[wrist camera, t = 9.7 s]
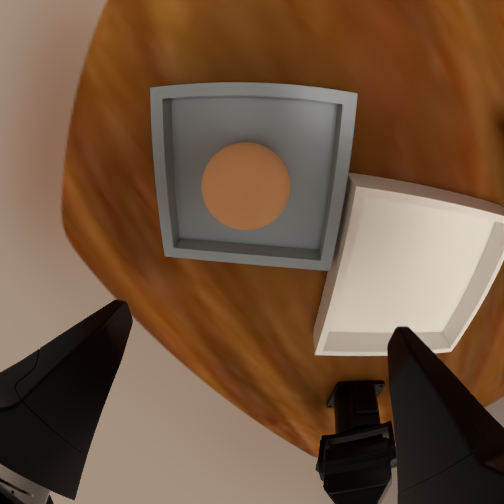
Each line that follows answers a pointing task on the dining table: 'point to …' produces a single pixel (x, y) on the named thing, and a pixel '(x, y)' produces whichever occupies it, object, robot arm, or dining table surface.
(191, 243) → the tray
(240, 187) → the ball
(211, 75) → the dining table surface
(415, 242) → the dish
